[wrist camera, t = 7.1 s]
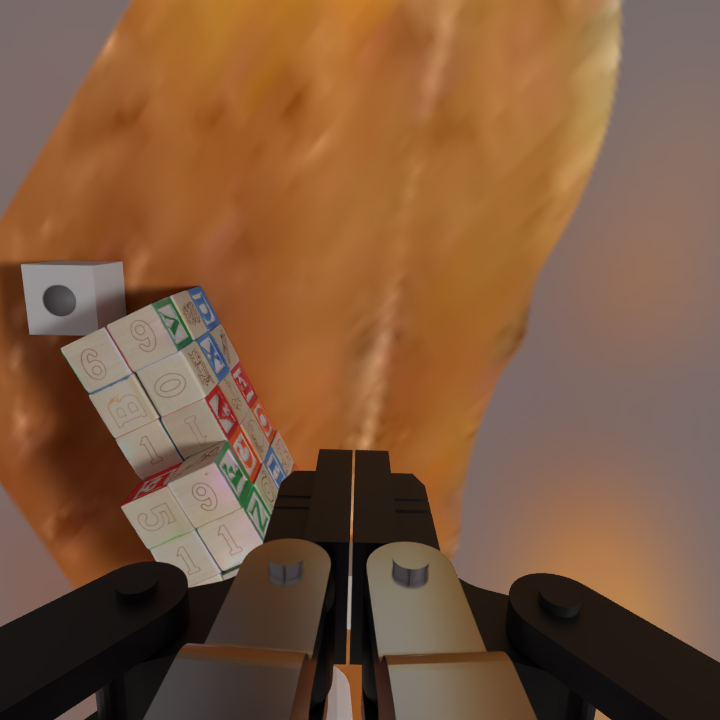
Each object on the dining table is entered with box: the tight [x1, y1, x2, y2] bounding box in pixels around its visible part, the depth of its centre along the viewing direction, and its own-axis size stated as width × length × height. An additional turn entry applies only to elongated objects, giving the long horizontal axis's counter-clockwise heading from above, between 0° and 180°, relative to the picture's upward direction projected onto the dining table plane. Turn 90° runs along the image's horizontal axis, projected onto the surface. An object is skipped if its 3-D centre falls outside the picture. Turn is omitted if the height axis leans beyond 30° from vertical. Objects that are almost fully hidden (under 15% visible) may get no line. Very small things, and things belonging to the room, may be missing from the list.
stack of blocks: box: [61, 286, 298, 588], centre depth 36 cm, size 21×6×12 cm, turn 25°
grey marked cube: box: [21, 260, 127, 336], centre depth 37 cm, size 4×4×5 cm
